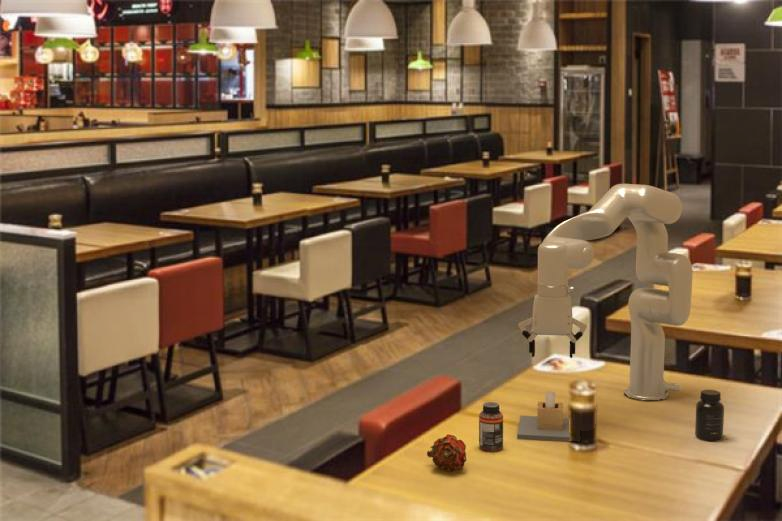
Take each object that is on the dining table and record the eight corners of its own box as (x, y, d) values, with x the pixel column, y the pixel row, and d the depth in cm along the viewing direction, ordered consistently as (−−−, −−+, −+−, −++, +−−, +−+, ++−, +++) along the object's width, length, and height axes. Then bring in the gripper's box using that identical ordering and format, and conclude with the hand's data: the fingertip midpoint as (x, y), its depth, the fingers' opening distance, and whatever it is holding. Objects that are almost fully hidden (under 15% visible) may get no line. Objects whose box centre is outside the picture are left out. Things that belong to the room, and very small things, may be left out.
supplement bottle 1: (486, 442, 253) (486, 399, 251) (507, 447, 250) (508, 403, 248) (474, 449, 248) (474, 405, 247) (495, 454, 245) (496, 409, 243)
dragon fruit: (453, 484, 230) (439, 473, 241) (481, 460, 231) (465, 450, 243) (430, 456, 228) (417, 446, 240) (458, 432, 230) (444, 423, 242)
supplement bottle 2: (690, 433, 259) (692, 388, 258) (716, 432, 260) (718, 387, 258) (700, 442, 253) (702, 396, 251) (727, 441, 253) (729, 395, 251)
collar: (562, 422, 265) (563, 402, 264) (562, 430, 258) (563, 410, 258) (537, 421, 266) (538, 401, 265) (537, 429, 260) (537, 408, 259)
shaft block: (580, 422, 269) (581, 385, 267) (581, 442, 253) (582, 403, 252) (520, 419, 271) (520, 383, 270) (517, 438, 256) (517, 400, 254)
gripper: (586, 288, 259) (586, 353, 262) (519, 287, 262) (519, 351, 265) (587, 294, 252) (586, 361, 254) (517, 293, 255) (517, 359, 257)
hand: (552, 356), depth 260 cm, fingers open, 9 cm apart
